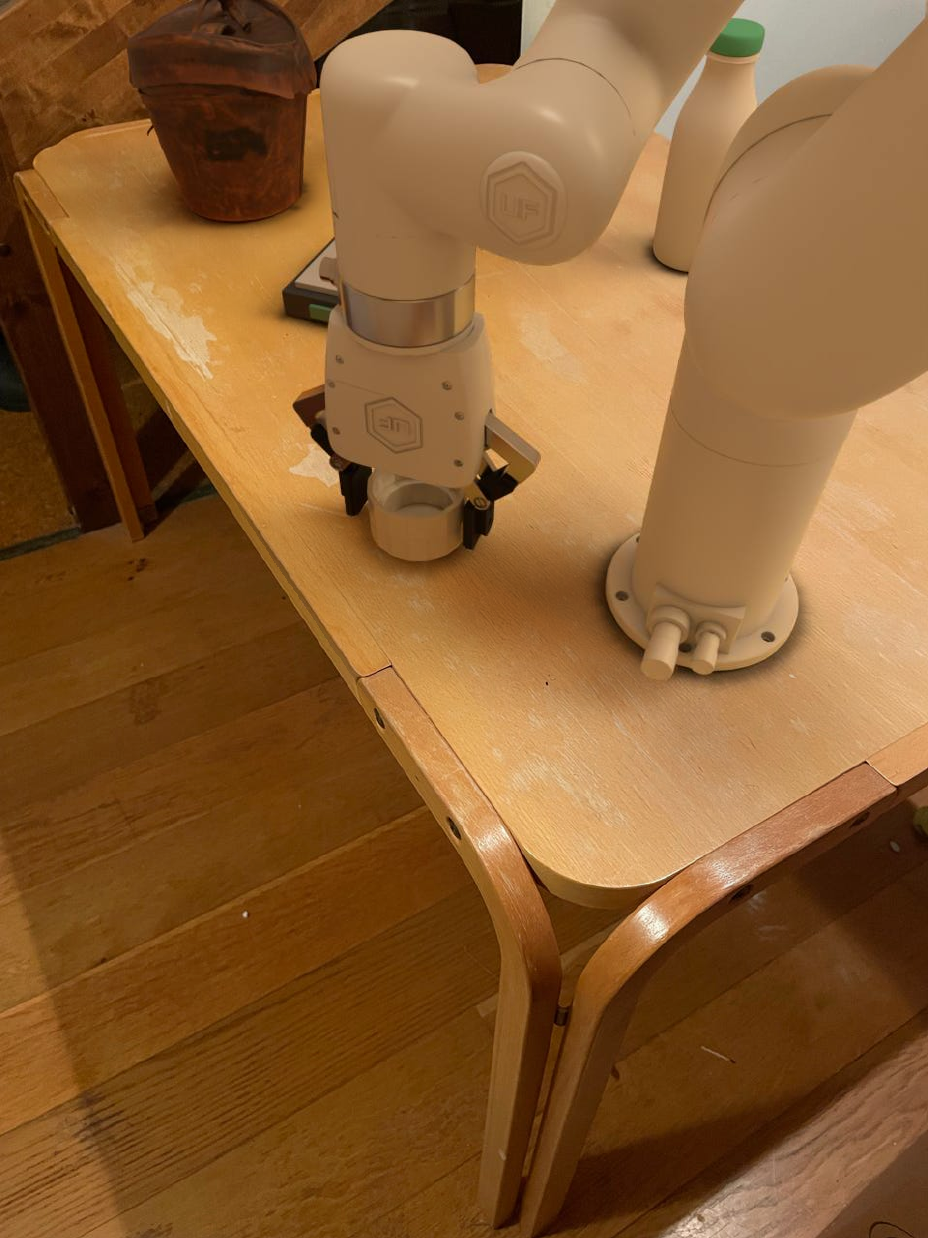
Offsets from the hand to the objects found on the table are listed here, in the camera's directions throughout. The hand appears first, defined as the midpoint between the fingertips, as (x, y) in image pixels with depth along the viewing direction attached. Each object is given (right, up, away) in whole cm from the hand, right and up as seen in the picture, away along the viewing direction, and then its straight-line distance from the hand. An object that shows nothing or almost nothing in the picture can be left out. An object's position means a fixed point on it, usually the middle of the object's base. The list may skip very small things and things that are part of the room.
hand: (417, 519), depth 63 cm
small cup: (0, -1, +1) cm, 1 cm away
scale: (-6, +24, +21) cm, 33 cm away
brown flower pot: (-21, +39, +34) cm, 56 cm away
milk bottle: (+26, +29, +26) cm, 47 cm away
